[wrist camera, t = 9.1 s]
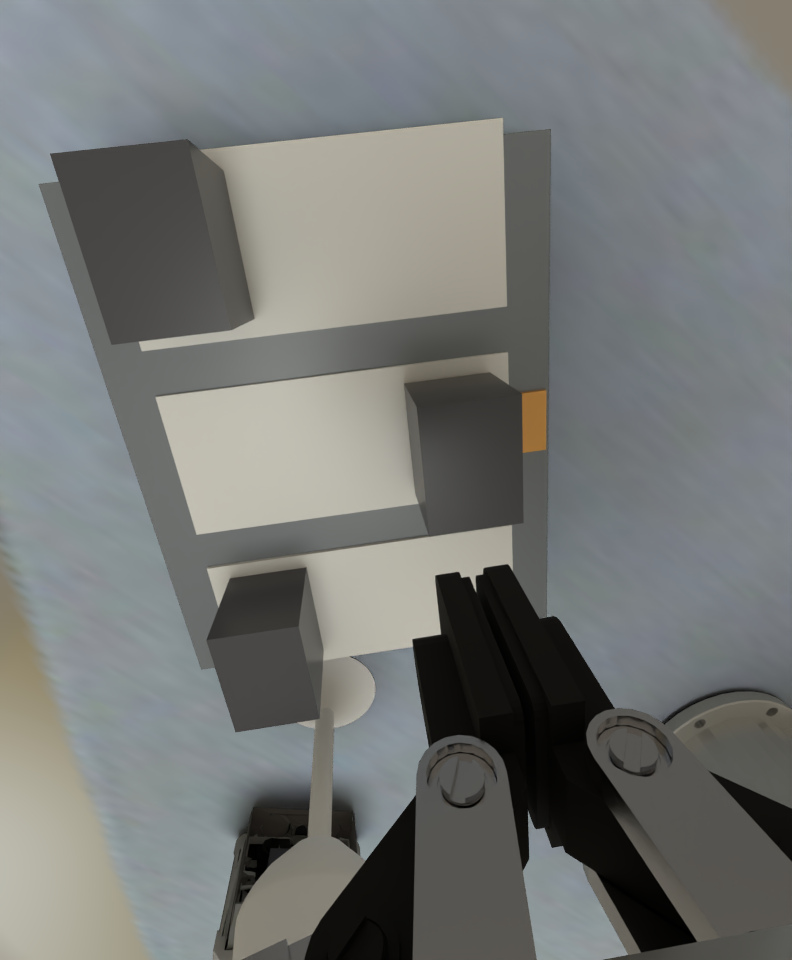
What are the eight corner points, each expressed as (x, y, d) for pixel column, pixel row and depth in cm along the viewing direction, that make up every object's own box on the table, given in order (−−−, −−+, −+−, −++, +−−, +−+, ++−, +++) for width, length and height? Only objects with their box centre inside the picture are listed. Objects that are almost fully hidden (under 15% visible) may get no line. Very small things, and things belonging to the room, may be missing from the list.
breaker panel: (525, 133, 23) (613, 64, 15) (529, 594, 32) (583, 688, 25) (73, 182, 22) (-68, 134, 14) (216, 640, 31) (176, 753, 24)
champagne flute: (316, 635, 32) (251, 1455, 10) (396, 683, 34) (491, 1445, 12) (254, 701, 33) (77, 1536, 11) (334, 743, 35) (317, 1516, 13)
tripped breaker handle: (490, 372, 23) (522, 393, 19) (494, 482, 25) (523, 523, 21) (403, 383, 23) (416, 407, 19) (415, 493, 25) (429, 536, 21)
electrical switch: (236, 840, 38) (206, 992, 30) (243, 787, 37) (214, 930, 28) (357, 842, 40) (363, 988, 31) (367, 792, 39) (377, 929, 30)
